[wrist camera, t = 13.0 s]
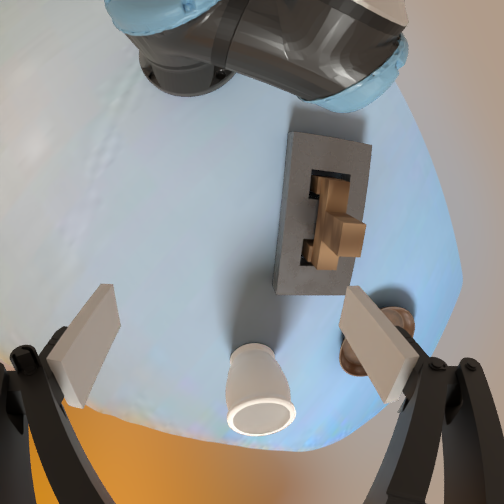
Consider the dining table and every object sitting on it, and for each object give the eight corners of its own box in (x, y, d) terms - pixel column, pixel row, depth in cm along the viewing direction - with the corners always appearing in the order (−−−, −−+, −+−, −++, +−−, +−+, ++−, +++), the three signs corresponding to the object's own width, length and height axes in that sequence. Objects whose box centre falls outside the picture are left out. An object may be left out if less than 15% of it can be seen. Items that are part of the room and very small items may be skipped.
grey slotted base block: (288, 133, 39) (293, 131, 36) (361, 145, 40) (372, 145, 37) (272, 284, 47) (276, 294, 44) (339, 285, 48) (347, 295, 45)
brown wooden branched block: (310, 174, 41) (344, 184, 29) (334, 177, 42) (375, 189, 30) (300, 252, 45) (327, 289, 33) (324, 253, 46) (356, 289, 34)
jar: (269, 329, 50) (285, 389, 36) (286, 367, 54) (303, 424, 40) (215, 348, 50) (215, 410, 36) (236, 383, 54) (242, 442, 40)
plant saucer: (416, 334, 55) (422, 342, 53) (354, 379, 58) (358, 388, 55) (393, 282, 50) (401, 289, 47) (319, 337, 52) (324, 346, 49)
